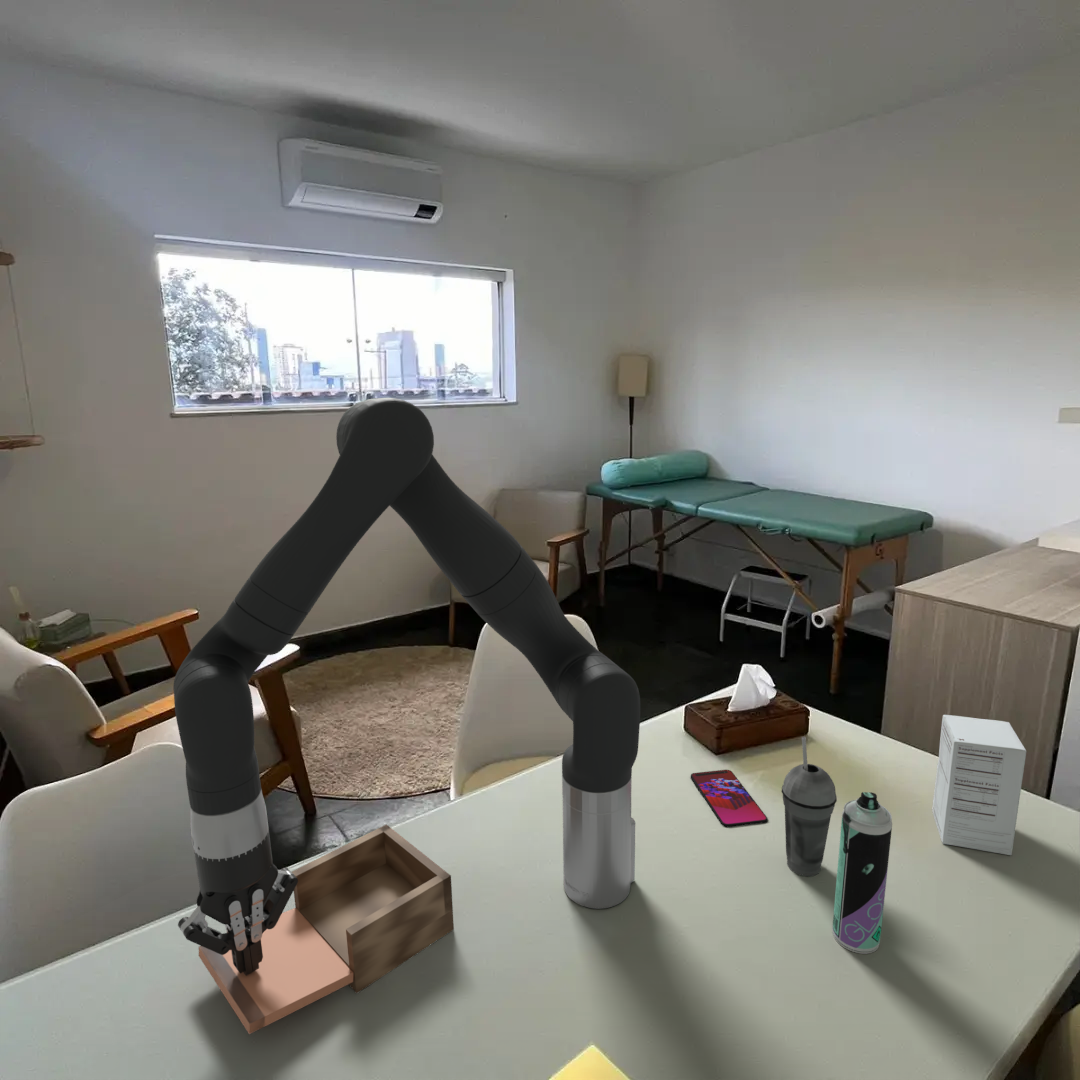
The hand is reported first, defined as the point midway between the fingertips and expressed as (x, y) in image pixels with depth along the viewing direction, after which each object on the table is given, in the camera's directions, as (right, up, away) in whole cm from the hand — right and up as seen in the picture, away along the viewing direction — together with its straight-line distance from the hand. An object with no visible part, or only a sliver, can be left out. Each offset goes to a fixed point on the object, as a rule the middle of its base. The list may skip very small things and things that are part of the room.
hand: (249, 968), depth 83 cm
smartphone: (+64, +5, +39) cm, 75 cm away
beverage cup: (+71, +2, +22) cm, 74 cm away
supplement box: (+98, +4, +29) cm, 102 cm away
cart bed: (+12, -2, +12) cm, 16 cm away
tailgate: (+7, 0, +6) cm, 9 cm away
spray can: (+72, -1, +9) cm, 73 cm away
